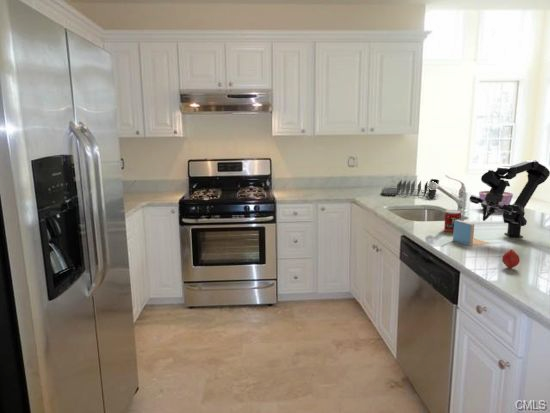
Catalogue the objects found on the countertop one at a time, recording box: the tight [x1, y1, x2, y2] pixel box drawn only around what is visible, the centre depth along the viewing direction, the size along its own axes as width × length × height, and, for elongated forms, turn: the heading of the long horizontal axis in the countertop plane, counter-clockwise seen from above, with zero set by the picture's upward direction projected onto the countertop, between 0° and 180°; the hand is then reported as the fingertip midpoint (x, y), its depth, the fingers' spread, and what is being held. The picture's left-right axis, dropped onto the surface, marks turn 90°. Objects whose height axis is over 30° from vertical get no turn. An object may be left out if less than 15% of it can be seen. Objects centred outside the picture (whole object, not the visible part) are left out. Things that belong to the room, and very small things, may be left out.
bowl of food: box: [478, 190, 514, 212], centre depth 260 cm, size 20×20×12 cm
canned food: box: [443, 209, 462, 233], centre depth 208 cm, size 8×8×11 cm
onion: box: [501, 248, 520, 269], centre depth 152 cm, size 6×6×8 cm
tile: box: [452, 220, 475, 246], centre depth 186 cm, size 2×10×10 cm, turn 20°
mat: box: [451, 237, 490, 247], centre depth 189 cm, size 12×12×1 cm
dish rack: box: [381, 178, 440, 199], centre depth 326 cm, size 34×44×12 cm
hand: (483, 220), depth 188 cm, fingers closed
